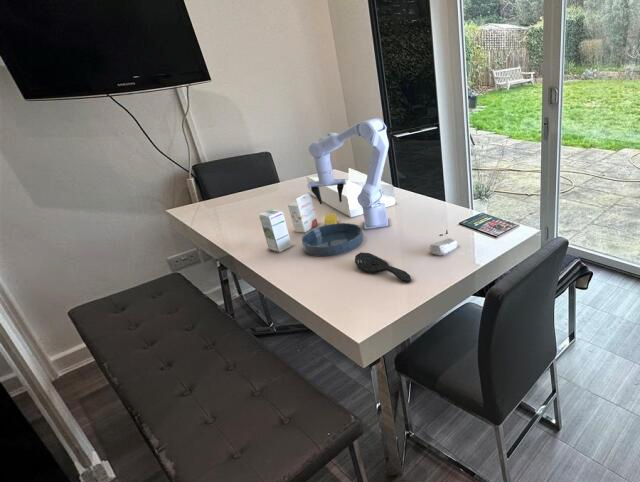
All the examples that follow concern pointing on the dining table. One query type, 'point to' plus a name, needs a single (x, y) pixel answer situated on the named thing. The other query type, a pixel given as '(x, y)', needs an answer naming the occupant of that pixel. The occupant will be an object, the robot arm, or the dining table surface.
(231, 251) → the dining table surface
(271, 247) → the syrup box
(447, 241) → the soap bar
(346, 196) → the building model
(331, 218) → the sponge
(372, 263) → the hairbrush
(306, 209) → the ink cartridge box
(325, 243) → the bowl
